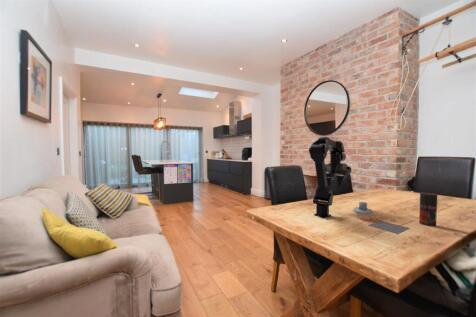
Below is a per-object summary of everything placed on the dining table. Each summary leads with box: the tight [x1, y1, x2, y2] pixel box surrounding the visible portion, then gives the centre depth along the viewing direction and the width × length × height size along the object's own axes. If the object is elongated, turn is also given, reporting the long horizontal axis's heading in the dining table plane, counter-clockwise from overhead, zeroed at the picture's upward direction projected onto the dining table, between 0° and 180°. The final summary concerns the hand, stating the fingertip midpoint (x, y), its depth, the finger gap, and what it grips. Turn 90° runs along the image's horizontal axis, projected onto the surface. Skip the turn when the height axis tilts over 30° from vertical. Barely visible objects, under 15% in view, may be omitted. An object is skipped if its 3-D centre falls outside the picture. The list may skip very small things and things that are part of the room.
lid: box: [353, 201, 374, 215], centre depth 109 cm, size 8×8×4 cm
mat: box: [367, 220, 411, 235], centre depth 96 cm, size 12×12×1 cm
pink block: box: [354, 212, 372, 221], centre depth 109 cm, size 6×6×4 cm
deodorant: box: [418, 192, 438, 227], centre depth 99 cm, size 6×6×15 cm
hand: (335, 187), depth 128 cm, fingers open, 9 cm apart
